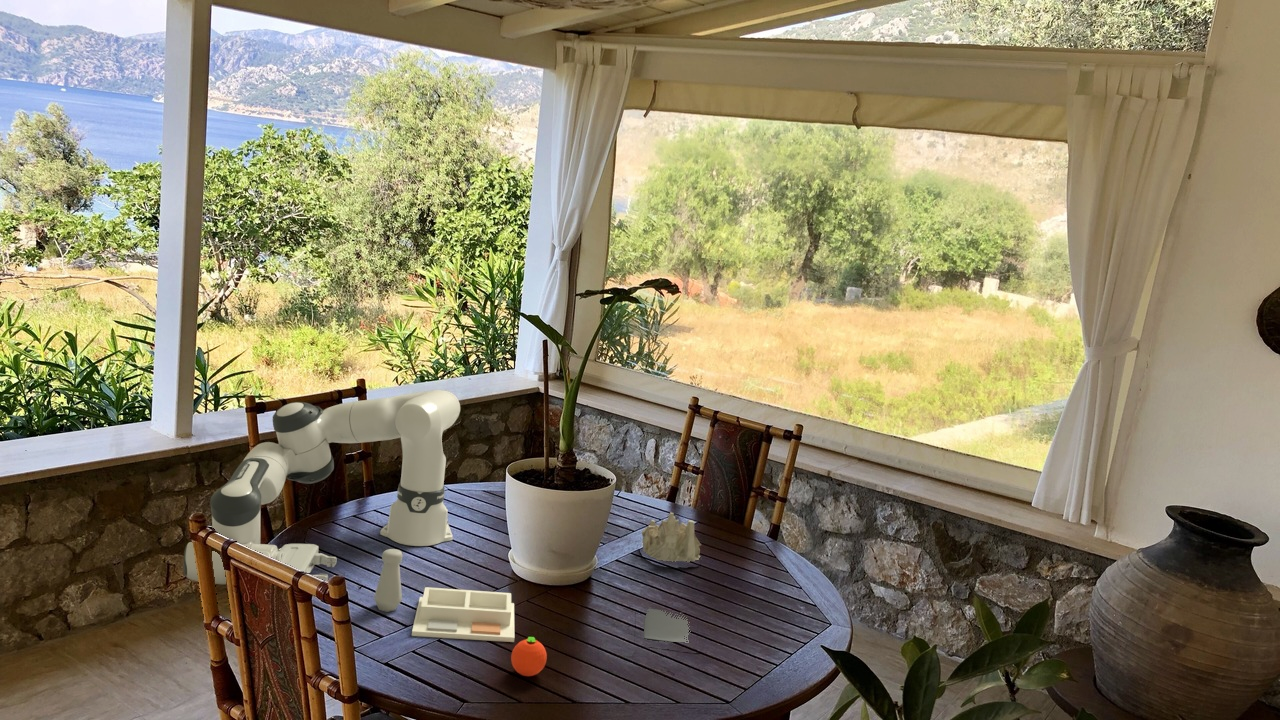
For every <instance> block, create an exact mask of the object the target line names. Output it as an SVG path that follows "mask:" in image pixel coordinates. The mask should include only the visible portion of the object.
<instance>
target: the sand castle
mask: <svg viewBox="0 0 1280 720" xmlns="http://www.w3.org/2000/svg"><path fill="white" fill-rule="evenodd" d="M674 515H675V513H674V512H671V511H670V512H669V514H668V517H667V520H662V521H661V522H660V524H659V525H658V524H656V521H655V520H654V519H651V520H650V524H648V526H646V527H645V528H644V529H642V531H641V534H642V535H641V536H642V542H641V544H642V543H643V548H644V549H643V551H644V552H646V554H648V555H649V556H650V557H653V558H656V559H657V560H663V561H672V562H673V561H675V562H676V561H687V562H690V561H695V560H699V558H700V557H701V555H700V552H701V549H700V547H701V546H702V543H700V541H699V540H698V538H697V536H696V533H695V521H694V520H691V519H690V520H688V521H687V523H684V522H680V520H679V519H676V516H674Z"/></svg>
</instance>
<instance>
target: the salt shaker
mask: <svg viewBox="0 0 1280 720" xmlns="http://www.w3.org/2000/svg"><path fill="white" fill-rule="evenodd" d="M381 560H382V562H383V565H382V569H381V572H380V575H379V580H378V583H377V586H376V589H375V593H374V602H375V604H376V606H377V609H378V610H379V611H382V612H386V613H388V612H394V611H396V609H397V607H399V605H400V604H401V602H402V598H403V595H402V582H401V569H400V564H401V562H402V561H403V552H402V550H400V549H397V548H396V549H395V548H389V549H386V550H384V551H382V555H381Z"/></svg>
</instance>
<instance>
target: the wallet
mask: <svg viewBox="0 0 1280 720" xmlns="http://www.w3.org/2000/svg"><path fill="white" fill-rule="evenodd" d="M661 610H662V611H661ZM647 611H649V612H646V613H647V614H646V616H645V617H646V618H645V619H644V639H647V640H652V641H658V642H659V641H664V642H665V641H667V642H685V643H689V640H688V635H689V633H690V632H691V631H690V632H689V630H690V629H689V627H690V626H689V627H688V625H689V624H688V621H687V620H688V619H686V618H687V617H686V618H685V619H686V620H685V619H684V617H685V616H684V617H683V618H682V616H683V615H684V614H683V615H682V616H681V617H679V616H680V615H679V616H678V617H677V616H676V617H677V619H676V617H675V615H676V614H675V615H674V616H673V617H672V618H671V616H672V614H673V613H672V614H671V612H670V613H669V614H668V615H667V613H668V612H667V613H666V611H667V610H664V611H665V612H663V609H655V608H649V609H648V610H647ZM665 613H666V614H665ZM681 613H682V612H680V614H681ZM670 614H671V615H670ZM666 615H667V616H666ZM677 615H678V614H677ZM674 617H675V618H674ZM678 618H679V619H678ZM681 618H682V619H681ZM683 619H684V620H683ZM689 623H690V622H689ZM687 624H688V625H687ZM688 629H689V630H688ZM688 632H689V633H688ZM684 636H685V637H684ZM686 637H687V638H686ZM684 638H685V639H684ZM686 639H687V640H686ZM686 641H688V642H686Z"/></svg>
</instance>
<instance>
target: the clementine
mask: <svg viewBox="0 0 1280 720" xmlns="http://www.w3.org/2000/svg"><path fill="white" fill-rule="evenodd" d="M547 656H548V653H547V651H546V648H545V647H544V645H543V644H542V643H541V642H540V641H538V640H537V639H536V638H535V637H534V636H528V637H527V638H526V639H523V640H521V641H519V642H518V643H517V644H516V645H515V646H514V648H513V649H512V652H511V656H510V659H511V660H510V661H511V665H512V667H513V669H514V670H515V672H517V673H518V674H519V675H521V676H524V677H533V676H536V675H538V674H539V673H540V672H541V671H542V670H543V669H544V668H545V666H546V663H547V660H548V659H547V658H548V657H547Z"/></svg>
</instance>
